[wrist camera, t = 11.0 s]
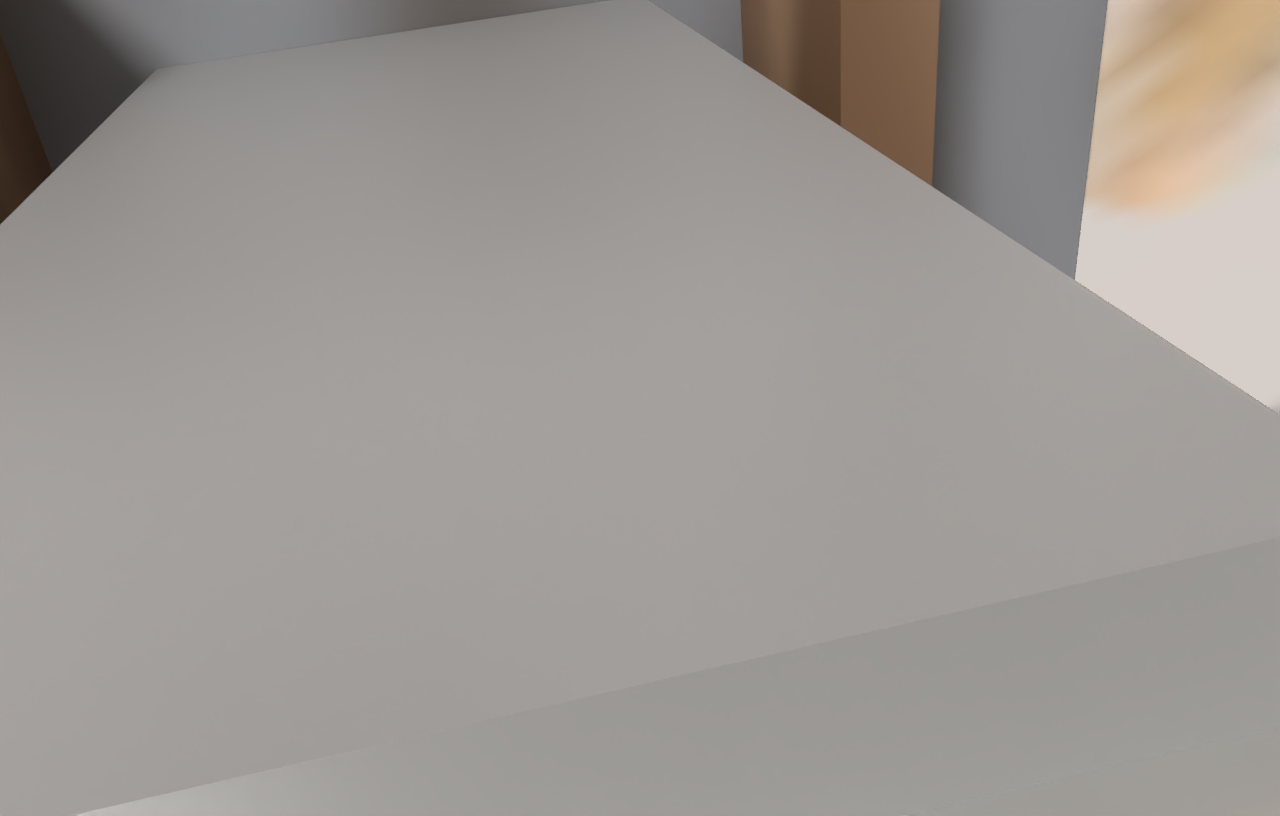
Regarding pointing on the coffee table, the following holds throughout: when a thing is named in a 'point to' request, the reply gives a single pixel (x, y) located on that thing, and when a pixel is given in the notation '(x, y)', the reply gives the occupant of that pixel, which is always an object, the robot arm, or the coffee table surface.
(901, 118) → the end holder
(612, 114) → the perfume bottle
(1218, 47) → the coffee table surface
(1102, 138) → the coffee table surface
